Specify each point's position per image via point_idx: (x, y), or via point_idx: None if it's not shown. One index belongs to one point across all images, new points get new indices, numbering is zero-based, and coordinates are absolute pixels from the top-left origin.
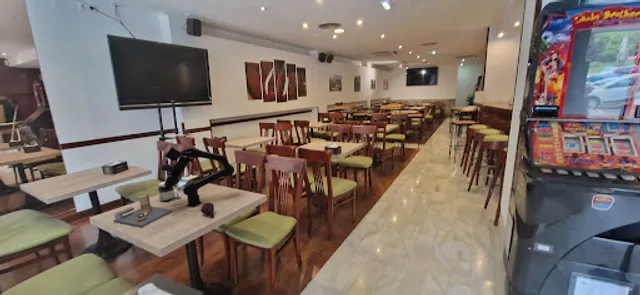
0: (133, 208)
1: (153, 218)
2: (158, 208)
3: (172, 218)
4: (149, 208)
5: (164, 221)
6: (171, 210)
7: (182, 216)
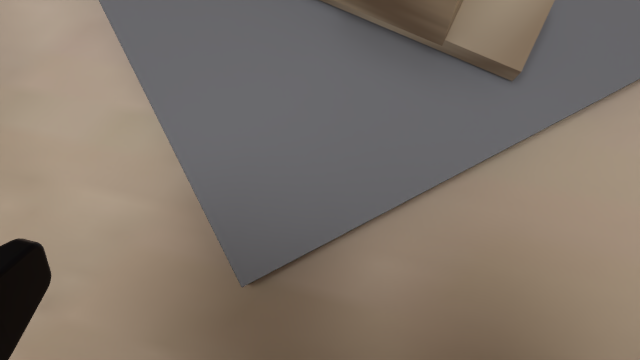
0: None
1: (143, 37)
2: (451, 149)
3: (46, 225)
4: (379, 12)
5: (35, 135)
6: (234, 271)
7: None
